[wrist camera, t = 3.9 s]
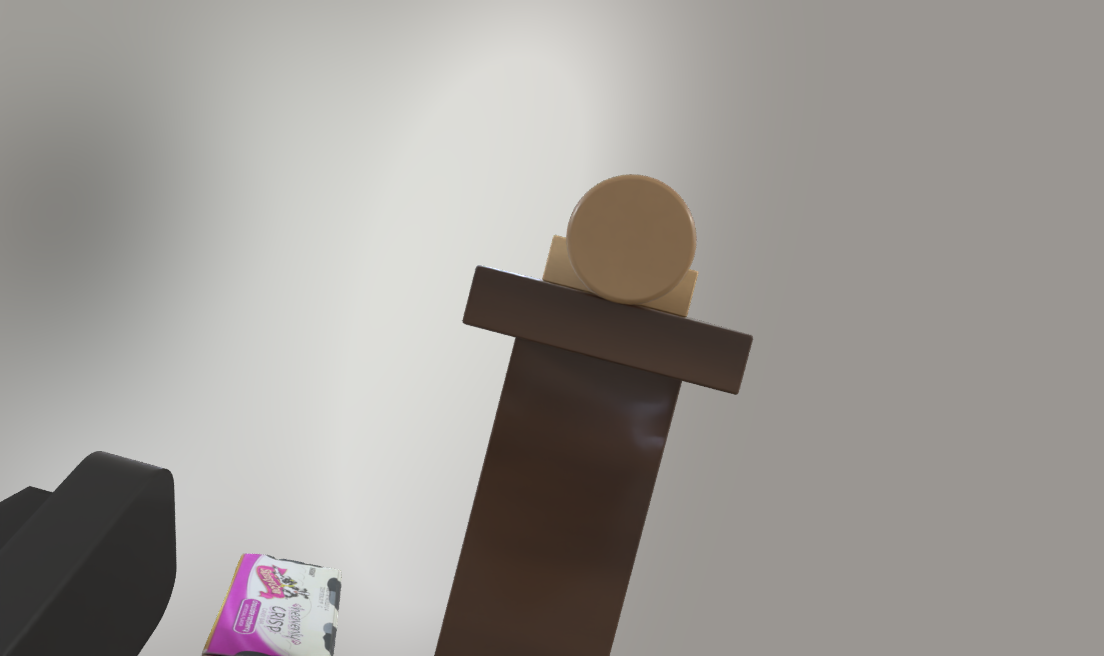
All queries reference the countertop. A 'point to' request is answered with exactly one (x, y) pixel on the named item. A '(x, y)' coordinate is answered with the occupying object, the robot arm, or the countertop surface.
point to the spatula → (628, 245)
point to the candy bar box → (277, 610)
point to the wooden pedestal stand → (570, 462)
